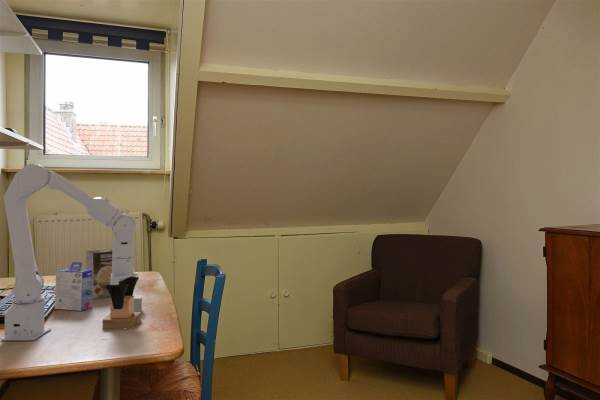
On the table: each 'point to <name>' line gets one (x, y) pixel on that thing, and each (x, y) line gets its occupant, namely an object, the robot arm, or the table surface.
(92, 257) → the coffee box
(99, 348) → the table surface
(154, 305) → the table surface
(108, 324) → the walnut block
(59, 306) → the ink cartridge box
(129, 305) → the terracotta cube
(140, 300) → the grey cube
